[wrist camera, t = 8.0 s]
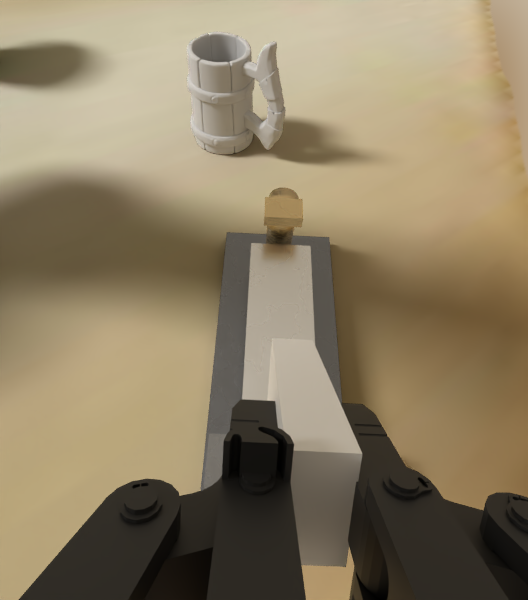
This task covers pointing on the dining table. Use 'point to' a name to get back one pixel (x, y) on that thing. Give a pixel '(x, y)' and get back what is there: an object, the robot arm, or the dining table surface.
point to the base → (233, 317)
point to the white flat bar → (275, 308)
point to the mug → (232, 93)
